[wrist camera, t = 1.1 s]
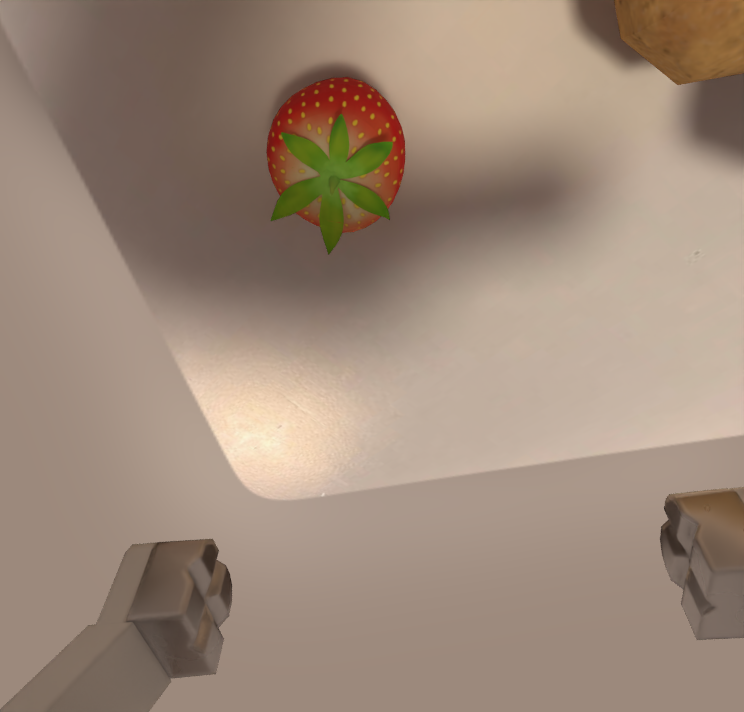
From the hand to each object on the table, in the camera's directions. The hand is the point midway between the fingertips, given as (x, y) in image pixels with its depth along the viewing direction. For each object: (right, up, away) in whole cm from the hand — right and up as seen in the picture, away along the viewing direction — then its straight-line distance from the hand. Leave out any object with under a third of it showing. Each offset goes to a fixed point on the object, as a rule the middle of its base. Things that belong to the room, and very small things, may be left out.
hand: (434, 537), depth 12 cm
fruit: (-2, +13, +16) cm, 21 cm away
